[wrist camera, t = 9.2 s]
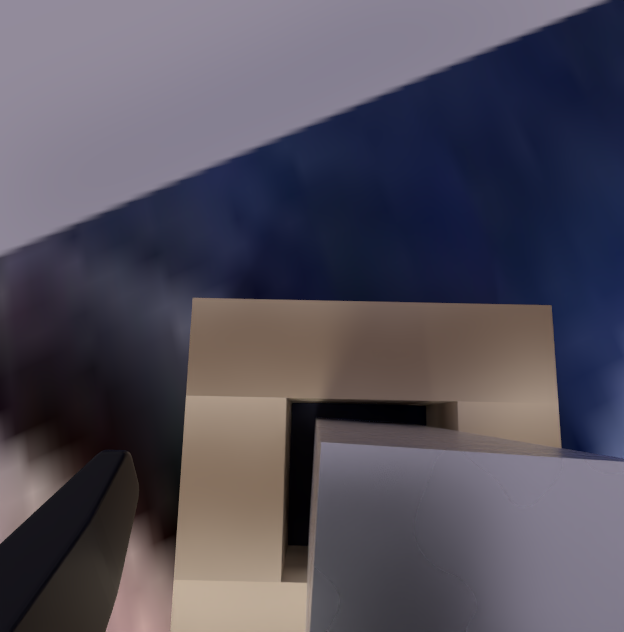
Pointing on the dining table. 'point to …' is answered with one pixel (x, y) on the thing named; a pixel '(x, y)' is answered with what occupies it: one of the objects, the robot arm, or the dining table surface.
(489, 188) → the dining table surface
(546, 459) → the square bit
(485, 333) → the socket block
